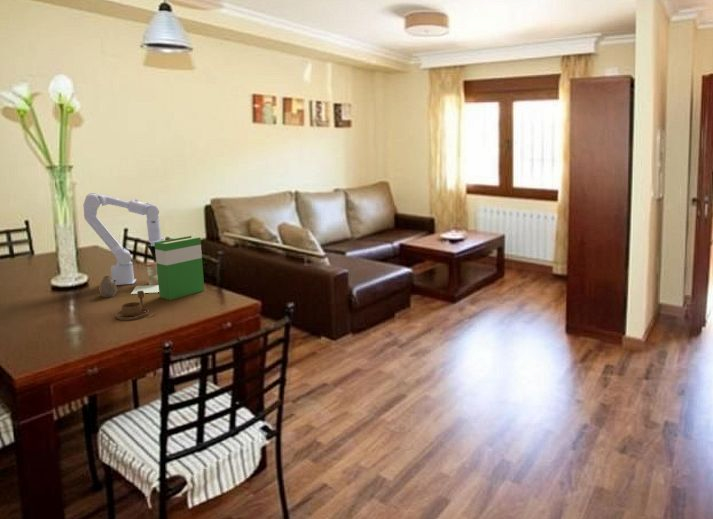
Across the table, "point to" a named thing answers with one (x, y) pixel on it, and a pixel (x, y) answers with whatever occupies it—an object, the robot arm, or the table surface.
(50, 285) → the table surface
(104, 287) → the vase
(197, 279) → the hardback book
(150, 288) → the mat
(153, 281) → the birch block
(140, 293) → the place setting
